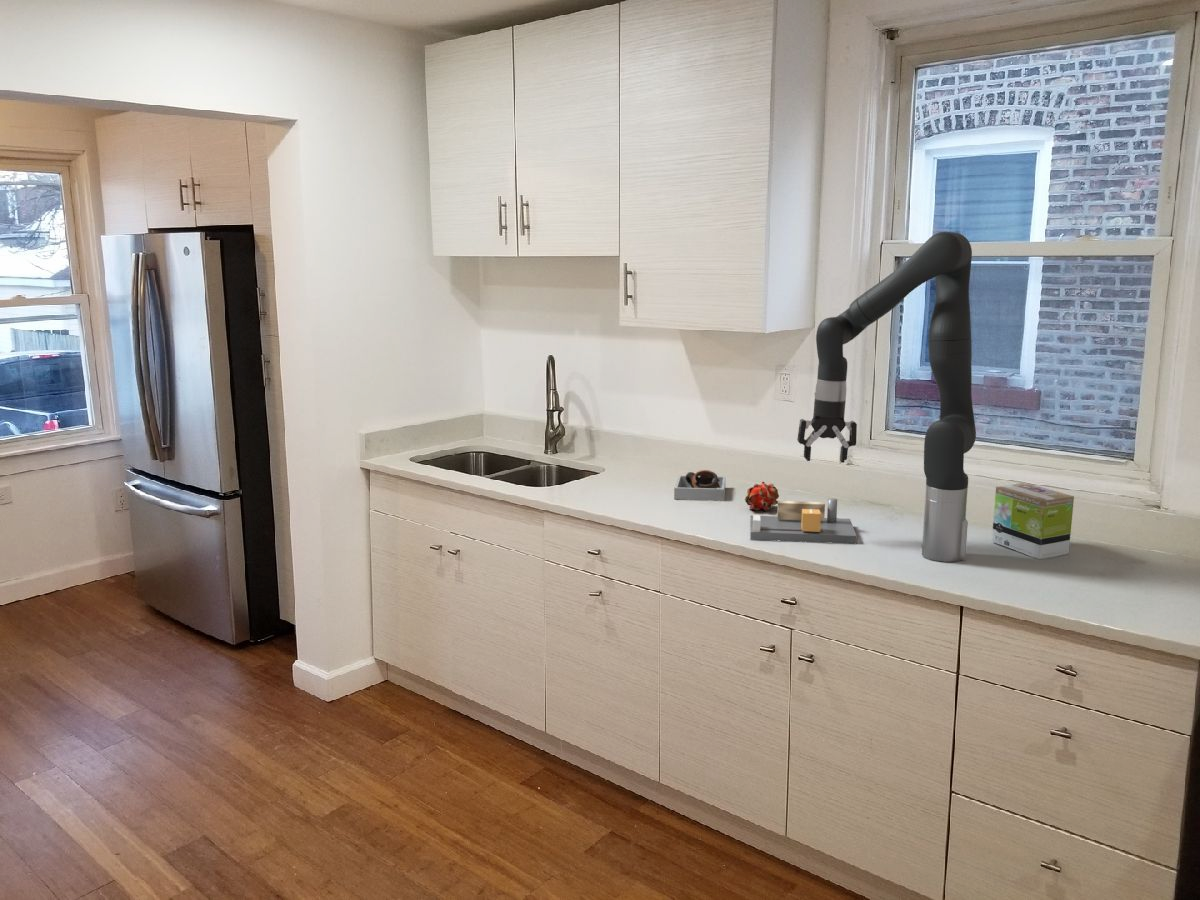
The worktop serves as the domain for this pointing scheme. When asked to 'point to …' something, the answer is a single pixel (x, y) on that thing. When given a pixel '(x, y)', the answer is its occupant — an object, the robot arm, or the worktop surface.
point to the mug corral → (698, 490)
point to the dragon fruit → (762, 496)
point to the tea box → (1032, 520)
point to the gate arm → (797, 509)
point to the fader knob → (811, 520)
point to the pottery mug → (702, 479)
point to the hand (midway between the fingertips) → (825, 461)
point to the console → (792, 531)
